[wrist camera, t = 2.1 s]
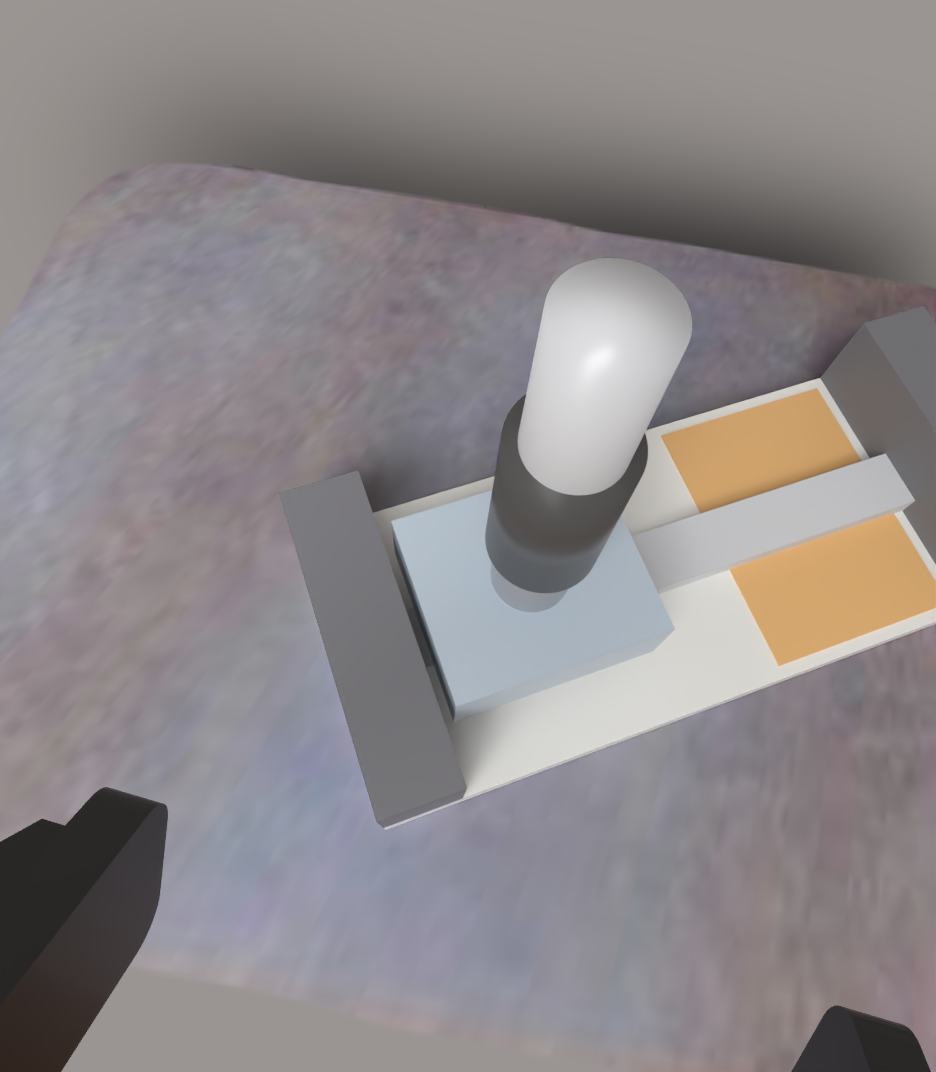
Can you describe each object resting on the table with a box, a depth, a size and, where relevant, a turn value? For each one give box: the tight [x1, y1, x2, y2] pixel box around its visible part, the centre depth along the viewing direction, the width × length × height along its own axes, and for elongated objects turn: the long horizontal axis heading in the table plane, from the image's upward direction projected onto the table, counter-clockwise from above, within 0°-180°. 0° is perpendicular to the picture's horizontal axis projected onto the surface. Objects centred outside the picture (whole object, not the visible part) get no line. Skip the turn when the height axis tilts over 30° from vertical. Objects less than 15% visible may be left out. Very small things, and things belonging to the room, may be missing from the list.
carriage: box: [391, 258, 692, 722], centre depth 23 cm, size 8×7×17 cm
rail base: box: [279, 306, 936, 830], centre depth 32 cm, size 28×12×6 cm, turn 110°
